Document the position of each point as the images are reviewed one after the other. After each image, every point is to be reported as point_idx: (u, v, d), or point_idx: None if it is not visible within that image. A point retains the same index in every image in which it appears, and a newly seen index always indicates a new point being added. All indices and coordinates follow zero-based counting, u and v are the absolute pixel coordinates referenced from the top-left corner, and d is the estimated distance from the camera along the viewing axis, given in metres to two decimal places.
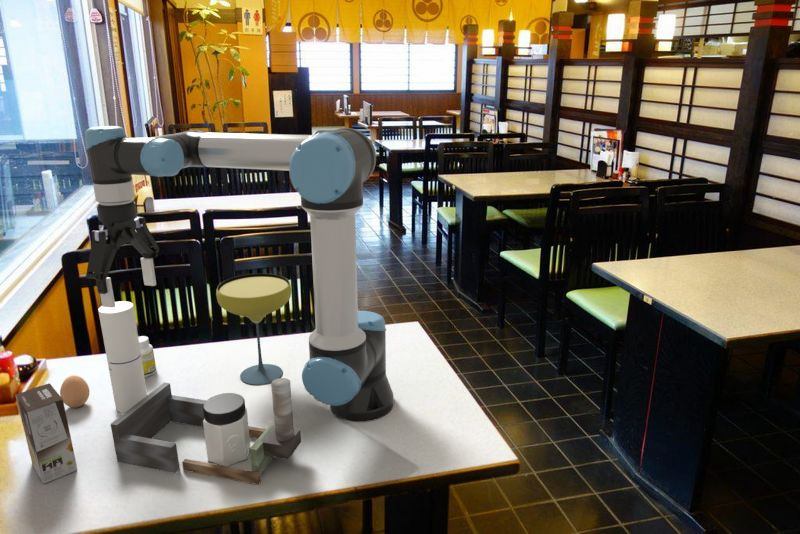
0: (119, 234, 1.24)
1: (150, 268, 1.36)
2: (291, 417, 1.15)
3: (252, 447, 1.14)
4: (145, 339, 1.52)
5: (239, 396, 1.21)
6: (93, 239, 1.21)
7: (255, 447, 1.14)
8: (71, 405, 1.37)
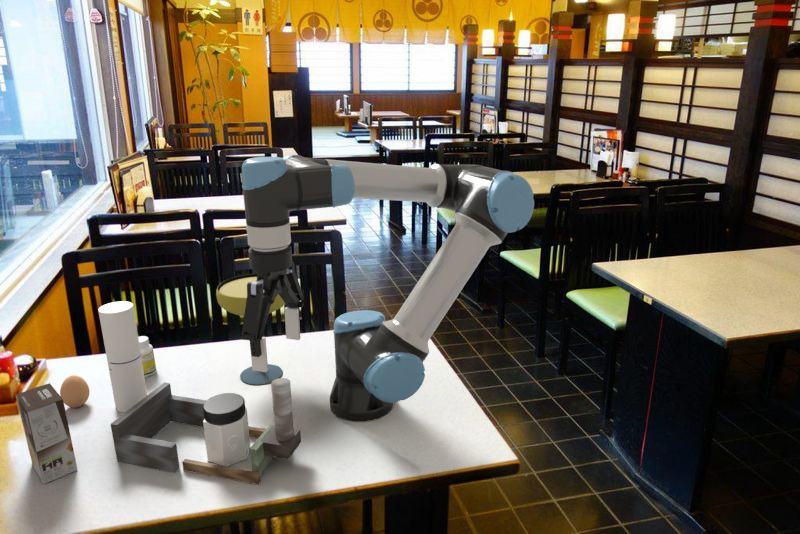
0: (274, 285, 1.05)
1: (295, 320, 1.16)
2: (291, 417, 1.15)
3: (252, 447, 1.14)
4: (145, 339, 1.52)
5: (239, 396, 1.21)
6: (249, 293, 1.01)
7: (255, 447, 1.14)
8: (71, 405, 1.37)
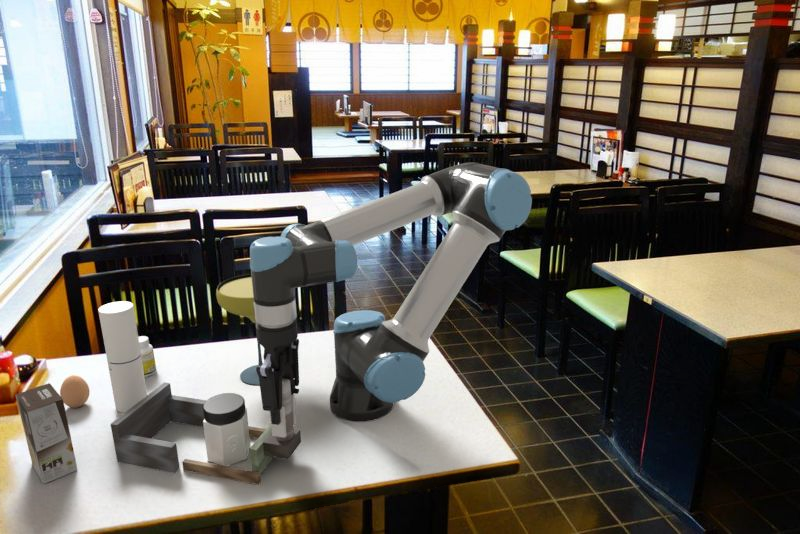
0: (281, 360, 1.09)
1: None
2: (291, 417, 1.15)
3: (252, 447, 1.14)
4: (145, 339, 1.52)
5: (239, 396, 1.21)
6: (260, 375, 1.07)
7: (255, 447, 1.14)
8: (71, 405, 1.37)
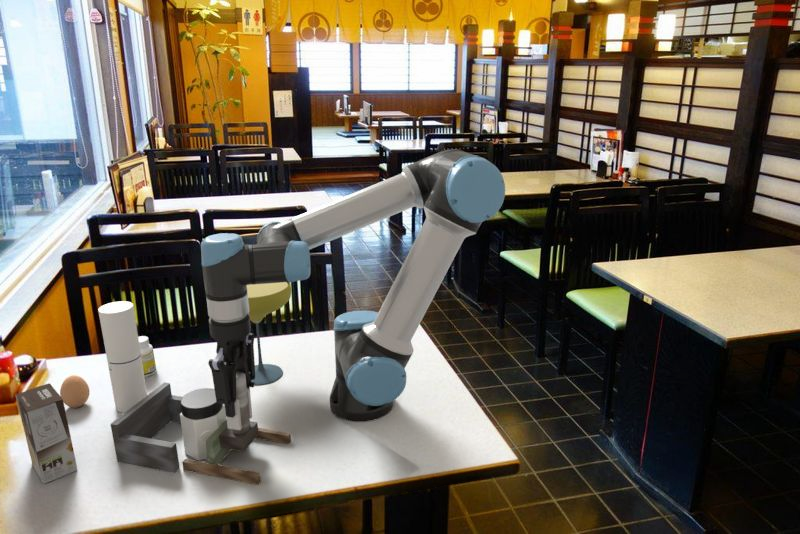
0: (234, 354, 1.12)
1: None
2: (247, 410, 1.18)
3: (208, 439, 1.16)
4: (145, 339, 1.52)
5: None
6: (212, 369, 1.09)
7: (211, 440, 1.16)
8: (71, 405, 1.37)
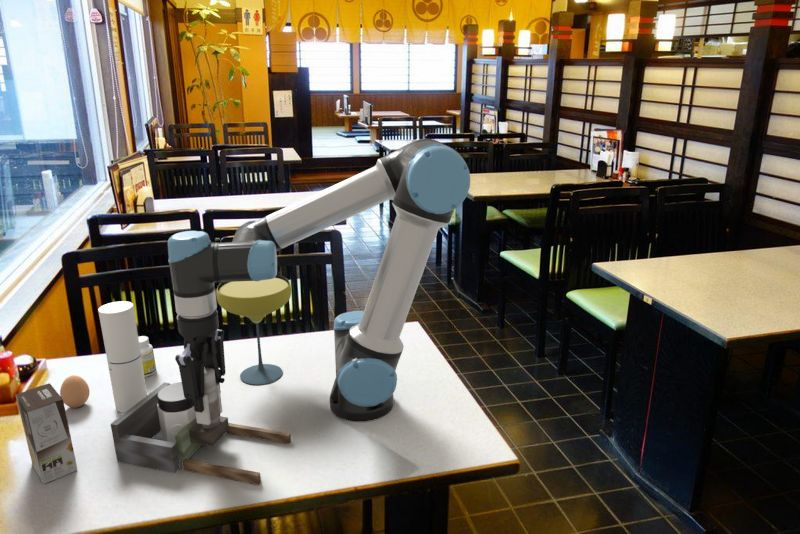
0: (202, 349, 1.14)
1: None
2: (216, 405, 1.19)
3: (177, 434, 1.18)
4: (145, 339, 1.52)
5: None
6: (179, 364, 1.11)
7: (180, 434, 1.18)
8: (71, 405, 1.37)
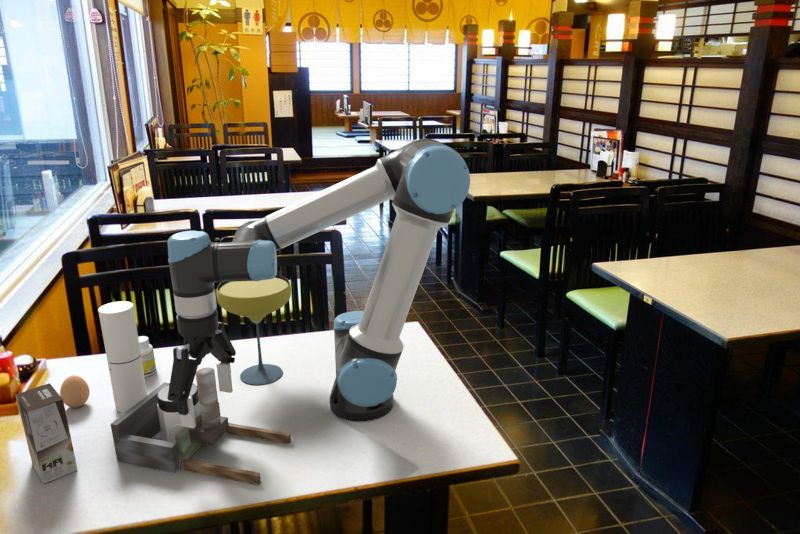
0: (201, 348, 1.13)
1: (227, 374, 1.25)
2: (216, 405, 1.19)
3: (177, 434, 1.18)
4: (145, 339, 1.52)
5: (195, 388, 1.24)
6: (175, 357, 1.09)
7: (180, 434, 1.18)
8: (71, 405, 1.37)
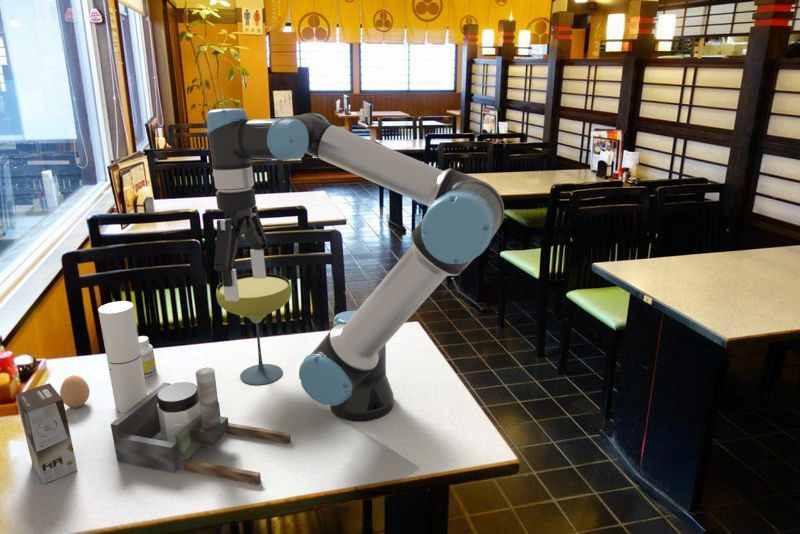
0: (241, 223, 1.17)
1: (261, 260, 1.29)
2: (216, 405, 1.19)
3: (177, 434, 1.18)
4: (145, 339, 1.52)
5: (195, 388, 1.24)
6: (219, 228, 1.13)
7: (180, 434, 1.18)
8: (71, 405, 1.37)
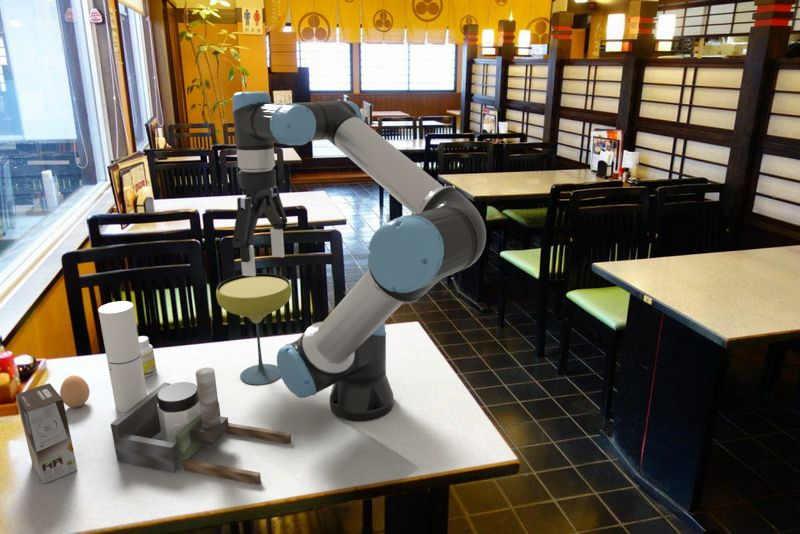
0: (261, 202, 1.23)
1: (280, 239, 1.34)
2: (216, 405, 1.19)
3: (177, 434, 1.18)
4: (145, 339, 1.52)
5: (195, 388, 1.24)
6: (239, 206, 1.19)
7: (180, 434, 1.18)
8: (71, 405, 1.37)
